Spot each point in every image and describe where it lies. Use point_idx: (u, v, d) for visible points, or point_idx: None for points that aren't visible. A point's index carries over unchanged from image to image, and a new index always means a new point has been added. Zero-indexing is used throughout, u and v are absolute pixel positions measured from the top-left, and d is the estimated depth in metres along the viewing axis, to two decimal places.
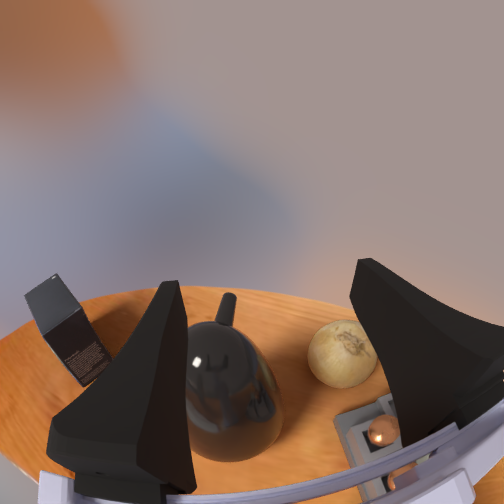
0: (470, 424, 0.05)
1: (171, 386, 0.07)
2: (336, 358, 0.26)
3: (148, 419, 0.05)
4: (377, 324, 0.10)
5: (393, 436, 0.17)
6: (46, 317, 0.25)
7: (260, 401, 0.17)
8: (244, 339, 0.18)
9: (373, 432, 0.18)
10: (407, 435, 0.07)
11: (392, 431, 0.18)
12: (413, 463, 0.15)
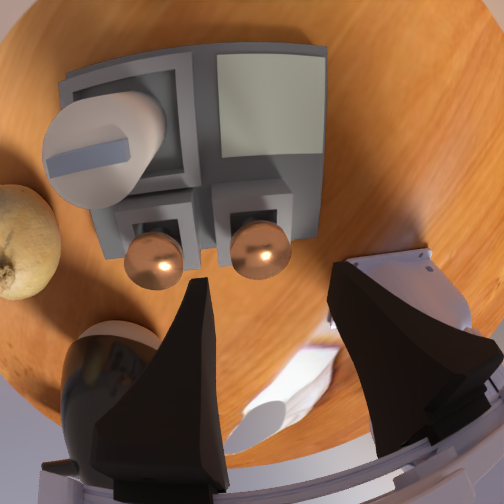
0: (470, 424, 0.05)
1: (209, 384, 0.07)
2: (24, 290, 0.13)
3: (202, 417, 0.05)
4: (352, 330, 0.10)
5: (172, 259, 0.13)
6: None
7: None
8: (92, 478, 0.11)
9: (155, 285, 0.13)
10: (381, 446, 0.07)
11: (160, 257, 0.12)
12: (242, 239, 0.13)
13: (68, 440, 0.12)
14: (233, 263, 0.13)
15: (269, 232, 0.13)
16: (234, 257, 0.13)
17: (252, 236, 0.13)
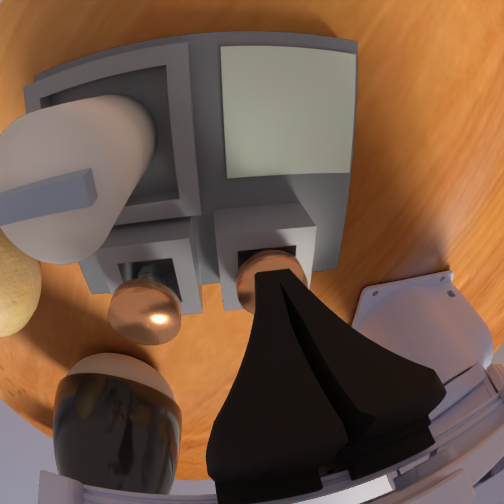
0: (470, 424, 0.05)
1: None
2: (3, 331, 0.10)
3: None
4: None
5: (166, 314, 0.10)
6: None
7: (135, 484, 0.11)
8: None
9: (148, 340, 0.10)
10: None
11: (151, 311, 0.10)
12: (251, 274, 0.11)
13: None
14: (240, 300, 0.11)
15: (284, 265, 0.11)
16: (242, 293, 0.11)
17: None
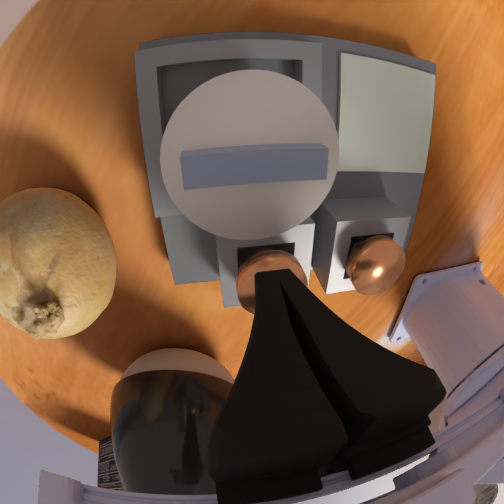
0: (470, 424, 0.05)
1: None
2: (73, 329, 0.11)
3: None
4: None
5: None
6: None
7: None
8: None
9: None
10: None
11: None
12: (369, 255, 0.11)
13: None
14: (354, 279, 0.12)
15: (393, 247, 0.11)
16: (357, 273, 0.12)
17: (378, 252, 0.11)
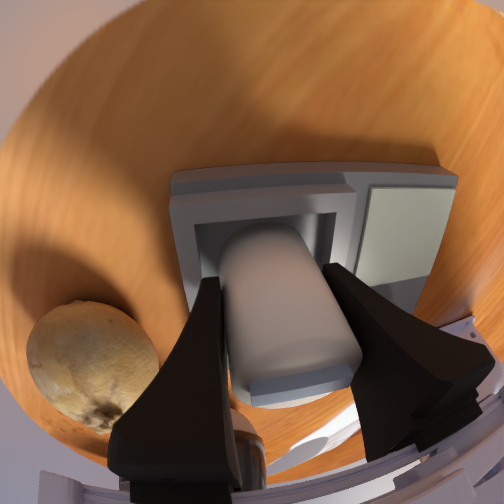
0: (470, 424, 0.05)
1: (224, 382, 0.07)
2: None
3: (224, 416, 0.05)
4: None
5: None
6: None
7: None
8: None
9: None
10: (370, 450, 0.07)
11: None
12: None
13: None
14: None
15: None
16: None
17: None
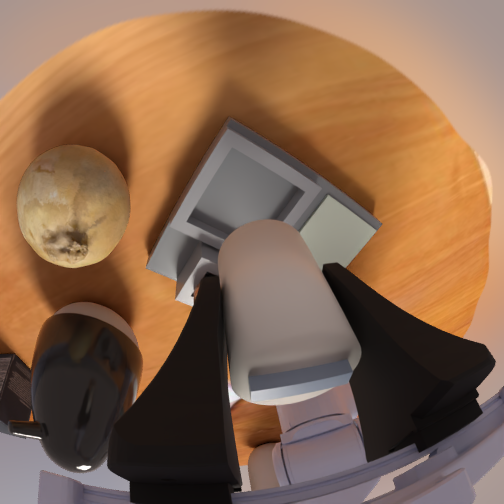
0: (470, 424, 0.05)
1: (224, 382, 0.07)
2: (76, 265, 0.15)
3: (224, 416, 0.05)
4: None
5: None
6: (8, 432, 0.20)
7: (115, 419, 0.16)
8: (68, 448, 0.12)
9: None
10: (370, 450, 0.07)
11: None
12: None
13: (48, 406, 0.13)
14: None
15: None
16: None
17: None
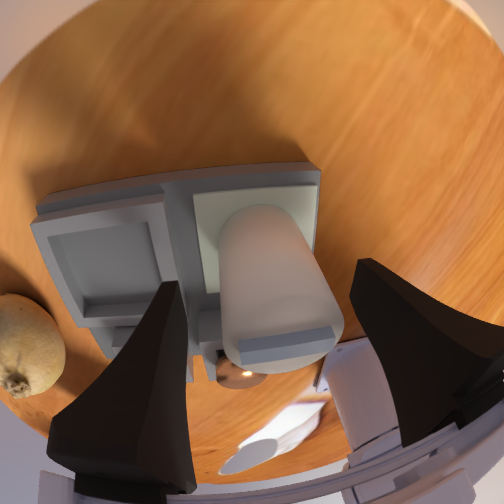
0: (470, 424, 0.05)
1: (171, 386, 0.07)
2: (40, 391, 0.13)
3: (148, 419, 0.05)
4: (377, 324, 0.10)
5: None
6: None
7: None
8: None
9: None
10: (407, 435, 0.07)
11: None
12: (224, 369, 0.14)
13: None
14: (218, 381, 0.15)
15: None
16: (219, 378, 0.14)
17: (233, 367, 0.14)
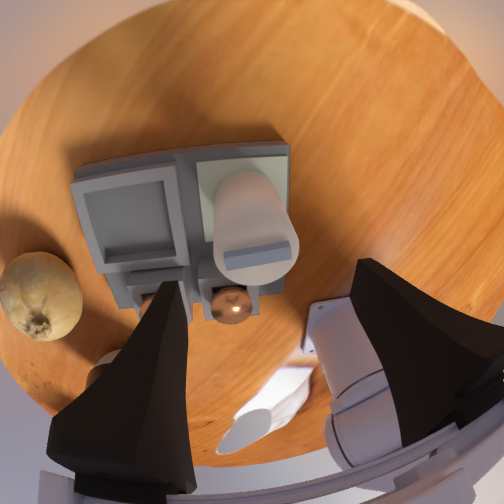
0: (470, 424, 0.05)
1: (171, 386, 0.07)
2: (57, 335, 0.18)
3: (148, 419, 0.05)
4: (377, 324, 0.10)
5: None
6: None
7: None
8: None
9: None
10: (407, 435, 0.07)
11: None
12: (217, 301, 0.18)
13: None
14: (213, 315, 0.19)
15: (236, 296, 0.18)
16: (213, 311, 0.19)
17: (225, 299, 0.18)
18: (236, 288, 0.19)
